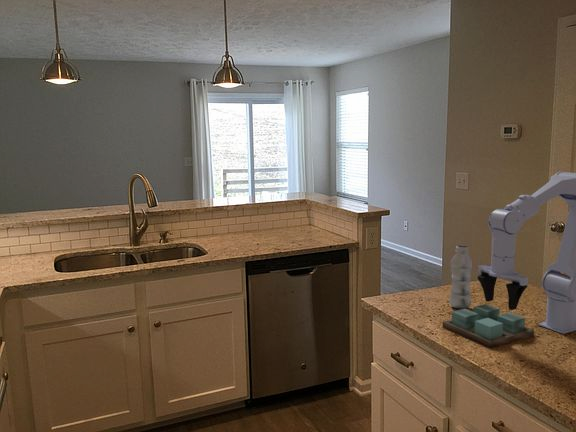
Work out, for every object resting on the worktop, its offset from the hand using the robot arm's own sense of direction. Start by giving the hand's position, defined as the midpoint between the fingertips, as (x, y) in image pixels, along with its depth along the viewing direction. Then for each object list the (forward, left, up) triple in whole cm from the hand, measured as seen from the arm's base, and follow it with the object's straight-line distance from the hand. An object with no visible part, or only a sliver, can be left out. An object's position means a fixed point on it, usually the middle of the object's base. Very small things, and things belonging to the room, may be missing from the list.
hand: (500, 304), depth 137 cm
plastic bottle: (-10, -24, -10) cm, 28 cm away
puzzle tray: (-2, -6, -10) cm, 12 cm away
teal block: (+2, -2, -9) cm, 9 cm away
